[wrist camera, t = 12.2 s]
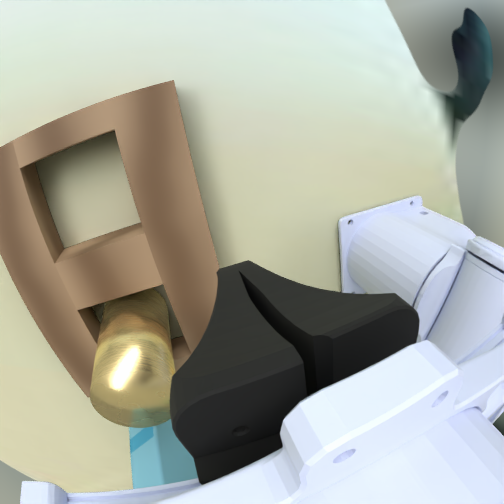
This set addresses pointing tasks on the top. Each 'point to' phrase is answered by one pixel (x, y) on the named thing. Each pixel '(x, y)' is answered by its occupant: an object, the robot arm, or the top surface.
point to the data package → (159, 457)
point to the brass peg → (134, 361)
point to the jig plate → (115, 243)
